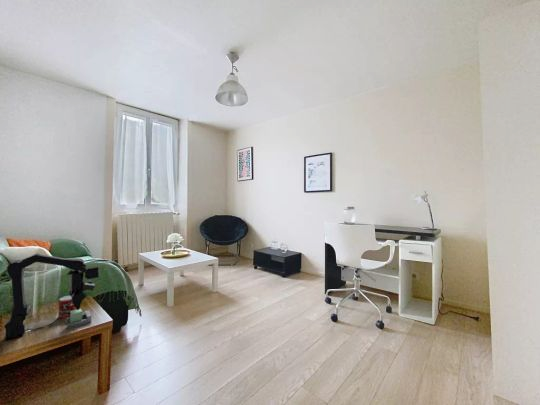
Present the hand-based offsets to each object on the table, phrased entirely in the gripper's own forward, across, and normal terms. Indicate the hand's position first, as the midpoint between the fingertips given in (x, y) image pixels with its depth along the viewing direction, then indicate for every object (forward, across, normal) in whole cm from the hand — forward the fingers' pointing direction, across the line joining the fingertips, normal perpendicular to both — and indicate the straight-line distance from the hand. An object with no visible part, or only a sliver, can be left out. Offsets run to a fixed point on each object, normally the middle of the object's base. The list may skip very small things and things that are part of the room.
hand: (77, 306), depth 140 cm
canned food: (+10, +16, +3) cm, 19 cm away
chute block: (+10, 0, 0) cm, 10 cm away
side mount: (+10, 0, 0) cm, 10 cm away
